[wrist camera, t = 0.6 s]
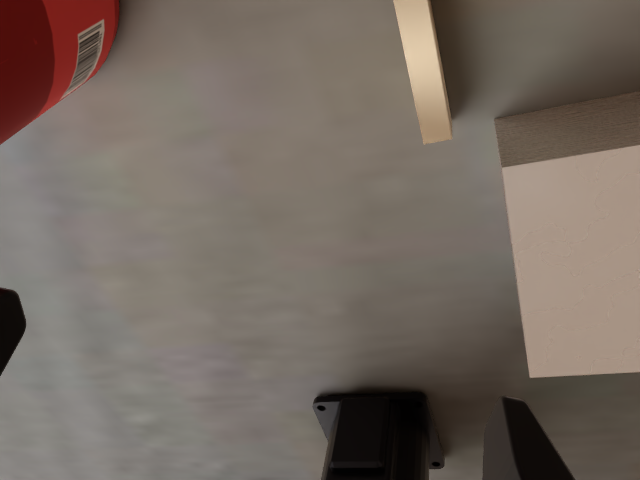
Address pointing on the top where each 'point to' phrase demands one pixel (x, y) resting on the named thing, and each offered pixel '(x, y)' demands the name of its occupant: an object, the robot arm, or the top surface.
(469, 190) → the top surface
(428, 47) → the birch dock
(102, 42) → the canned food
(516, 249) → the white flat block
